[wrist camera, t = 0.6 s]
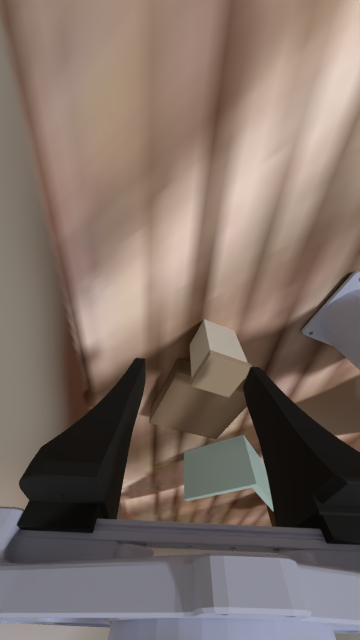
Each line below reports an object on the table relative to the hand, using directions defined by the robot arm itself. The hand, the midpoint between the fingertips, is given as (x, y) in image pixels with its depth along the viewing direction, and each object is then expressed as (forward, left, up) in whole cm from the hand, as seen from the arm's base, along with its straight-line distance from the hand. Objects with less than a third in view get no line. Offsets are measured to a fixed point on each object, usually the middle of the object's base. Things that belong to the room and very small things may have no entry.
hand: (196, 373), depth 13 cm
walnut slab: (-7, +13, -10) cm, 17 cm away
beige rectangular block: (-4, +3, -10) cm, 11 cm away
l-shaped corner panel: (-20, +27, -10) cm, 35 cm away
